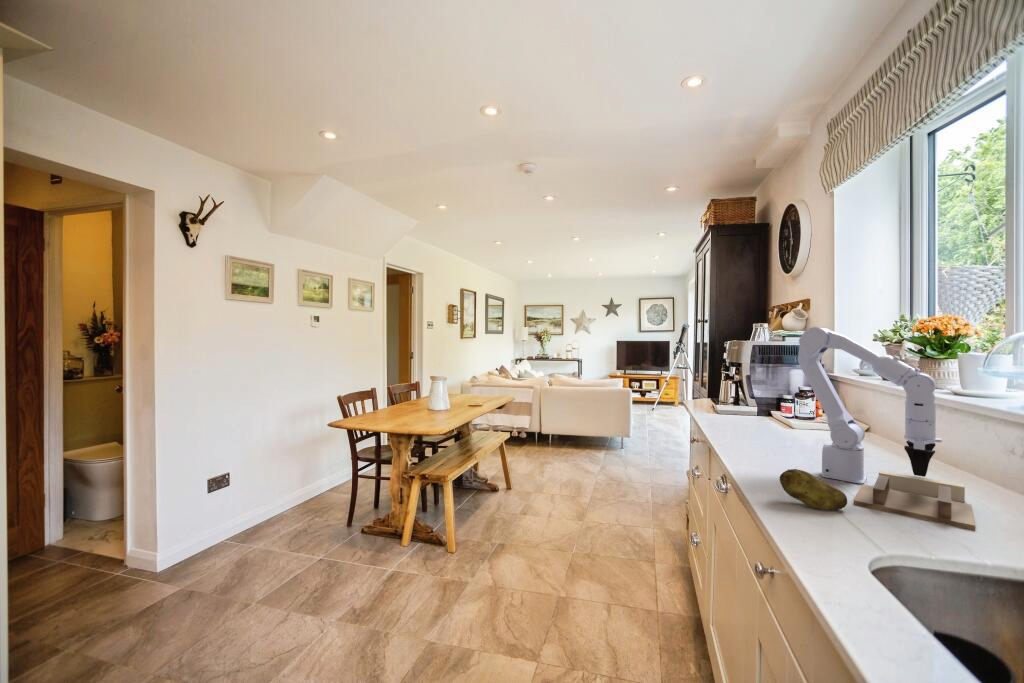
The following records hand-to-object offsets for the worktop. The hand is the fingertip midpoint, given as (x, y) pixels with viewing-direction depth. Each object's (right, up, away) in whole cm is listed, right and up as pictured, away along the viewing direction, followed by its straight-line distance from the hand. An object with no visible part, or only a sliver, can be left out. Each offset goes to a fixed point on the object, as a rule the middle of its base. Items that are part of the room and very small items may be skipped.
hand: (920, 472), depth 111 cm
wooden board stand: (-11, -5, -9) cm, 15 cm away
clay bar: (0, -6, 0) cm, 6 cm away
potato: (-34, -6, -8) cm, 35 cm away
